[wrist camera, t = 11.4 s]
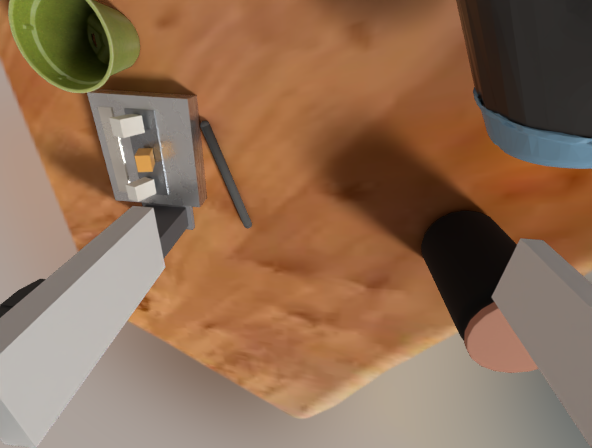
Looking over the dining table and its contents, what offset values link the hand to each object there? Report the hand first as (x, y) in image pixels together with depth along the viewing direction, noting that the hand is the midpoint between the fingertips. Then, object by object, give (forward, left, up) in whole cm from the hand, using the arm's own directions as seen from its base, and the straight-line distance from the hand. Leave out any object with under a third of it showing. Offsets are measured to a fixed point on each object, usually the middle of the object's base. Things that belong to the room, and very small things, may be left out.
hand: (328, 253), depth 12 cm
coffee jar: (+17, +21, -31) cm, 41 cm away
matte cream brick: (+11, -22, -28) cm, 37 cm away
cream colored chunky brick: (+3, -22, -28) cm, 35 cm away
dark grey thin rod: (+10, -13, -31) cm, 35 cm away
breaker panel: (+7, -22, -31) cm, 38 cm away
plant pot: (-6, -25, -31) cm, 40 cm away
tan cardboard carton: (+7, -22, -28) cm, 36 cm away
